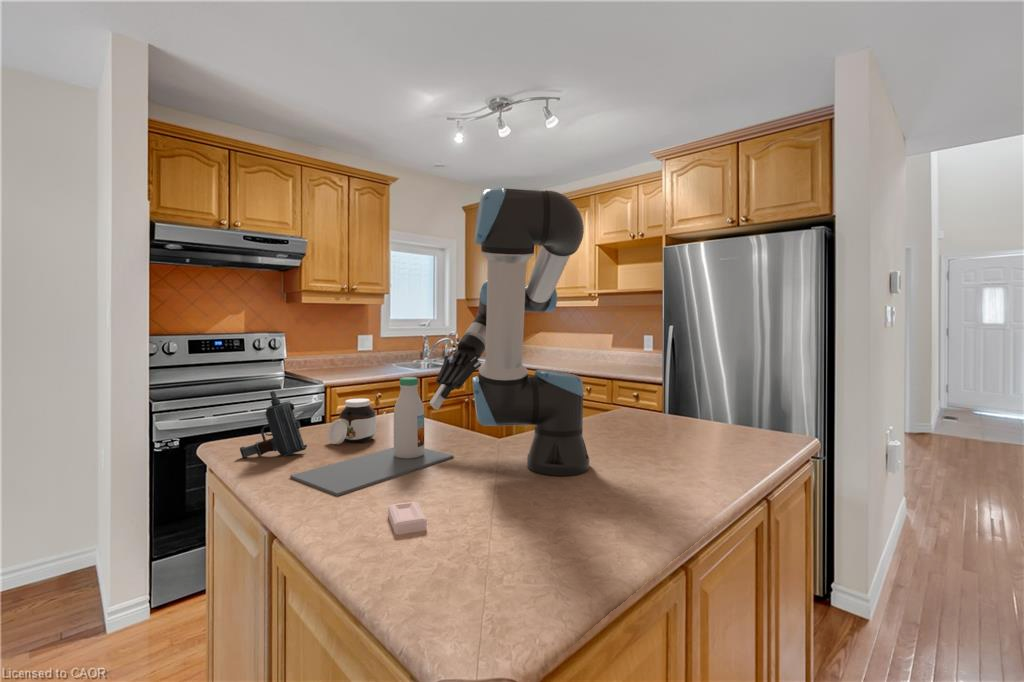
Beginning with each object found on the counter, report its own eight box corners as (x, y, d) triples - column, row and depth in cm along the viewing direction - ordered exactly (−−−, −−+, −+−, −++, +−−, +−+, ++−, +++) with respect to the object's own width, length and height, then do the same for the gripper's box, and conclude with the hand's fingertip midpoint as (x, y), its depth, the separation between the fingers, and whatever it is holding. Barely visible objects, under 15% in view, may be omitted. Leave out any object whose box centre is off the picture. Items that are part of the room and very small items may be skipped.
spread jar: (379, 437, 148) (379, 398, 148) (362, 447, 137) (361, 405, 137) (342, 435, 151) (342, 397, 150) (322, 445, 139) (321, 404, 139)
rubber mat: (406, 445, 139) (406, 443, 139) (453, 457, 128) (453, 455, 128) (290, 477, 112) (290, 475, 112) (337, 496, 101) (337, 493, 101)
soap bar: (416, 512, 94) (416, 499, 94) (427, 532, 86) (427, 518, 86) (387, 516, 92) (387, 503, 92) (395, 537, 84) (395, 523, 84)
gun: (227, 403, 127) (288, 386, 130) (248, 465, 129) (307, 446, 132) (224, 405, 124) (287, 388, 128) (245, 468, 126) (306, 449, 130)
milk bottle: (409, 461, 123) (409, 380, 122) (387, 456, 127) (386, 378, 126) (430, 454, 129) (430, 377, 128) (408, 449, 134) (408, 375, 132)
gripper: (497, 351, 145) (458, 417, 133) (464, 349, 153) (424, 411, 141) (485, 333, 141) (443, 400, 128) (452, 332, 148) (409, 395, 136)
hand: (433, 406), depth 135 cm, fingers closed
